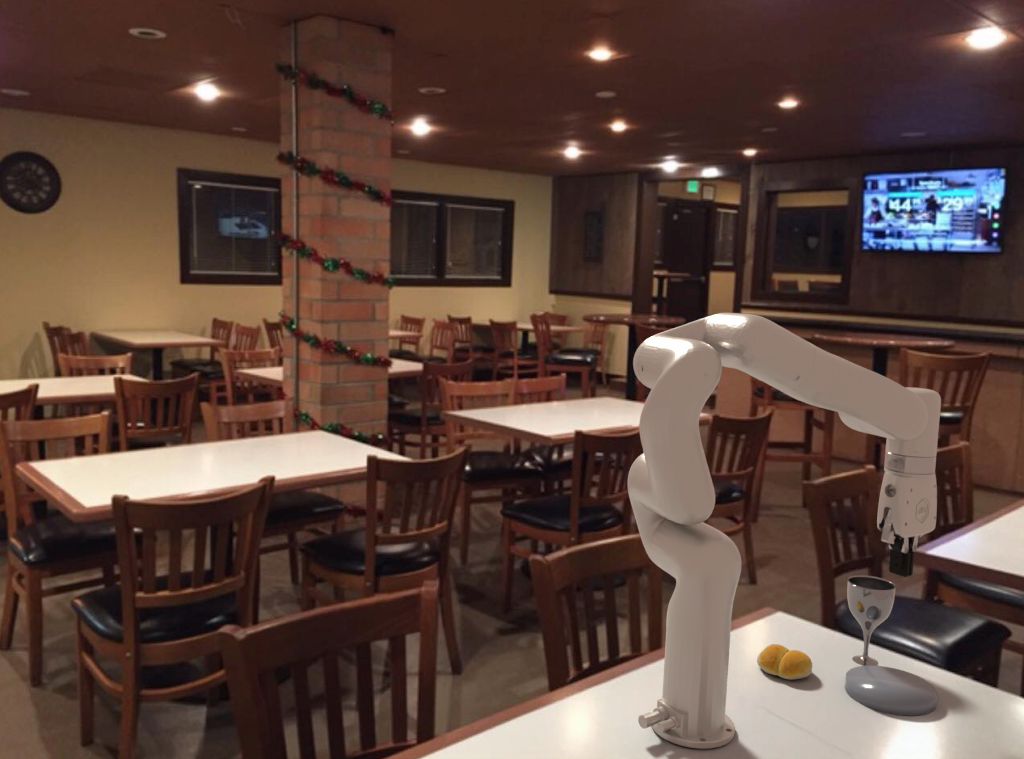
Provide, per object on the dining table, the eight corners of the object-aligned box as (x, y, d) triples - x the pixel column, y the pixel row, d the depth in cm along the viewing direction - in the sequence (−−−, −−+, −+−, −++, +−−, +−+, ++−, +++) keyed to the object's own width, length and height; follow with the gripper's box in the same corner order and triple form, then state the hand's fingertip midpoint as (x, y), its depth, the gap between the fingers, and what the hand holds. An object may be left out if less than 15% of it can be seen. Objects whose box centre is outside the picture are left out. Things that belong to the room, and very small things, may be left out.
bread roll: (801, 685, 147) (801, 662, 146) (751, 671, 152) (752, 649, 152) (820, 668, 153) (820, 646, 152) (771, 655, 159) (772, 634, 158)
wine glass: (840, 650, 163) (846, 572, 161) (886, 657, 161) (893, 578, 159) (842, 667, 155) (849, 586, 154) (891, 675, 153) (898, 592, 151)
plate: (904, 724, 136) (905, 711, 135) (827, 688, 147) (828, 676, 147) (953, 702, 143) (954, 691, 143) (876, 670, 155) (877, 659, 155)
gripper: (904, 473, 134) (895, 588, 136) (957, 464, 142) (947, 573, 144) (861, 463, 140) (852, 574, 142) (914, 456, 148) (905, 560, 150)
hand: (900, 573), depth 143 cm, fingers closed
